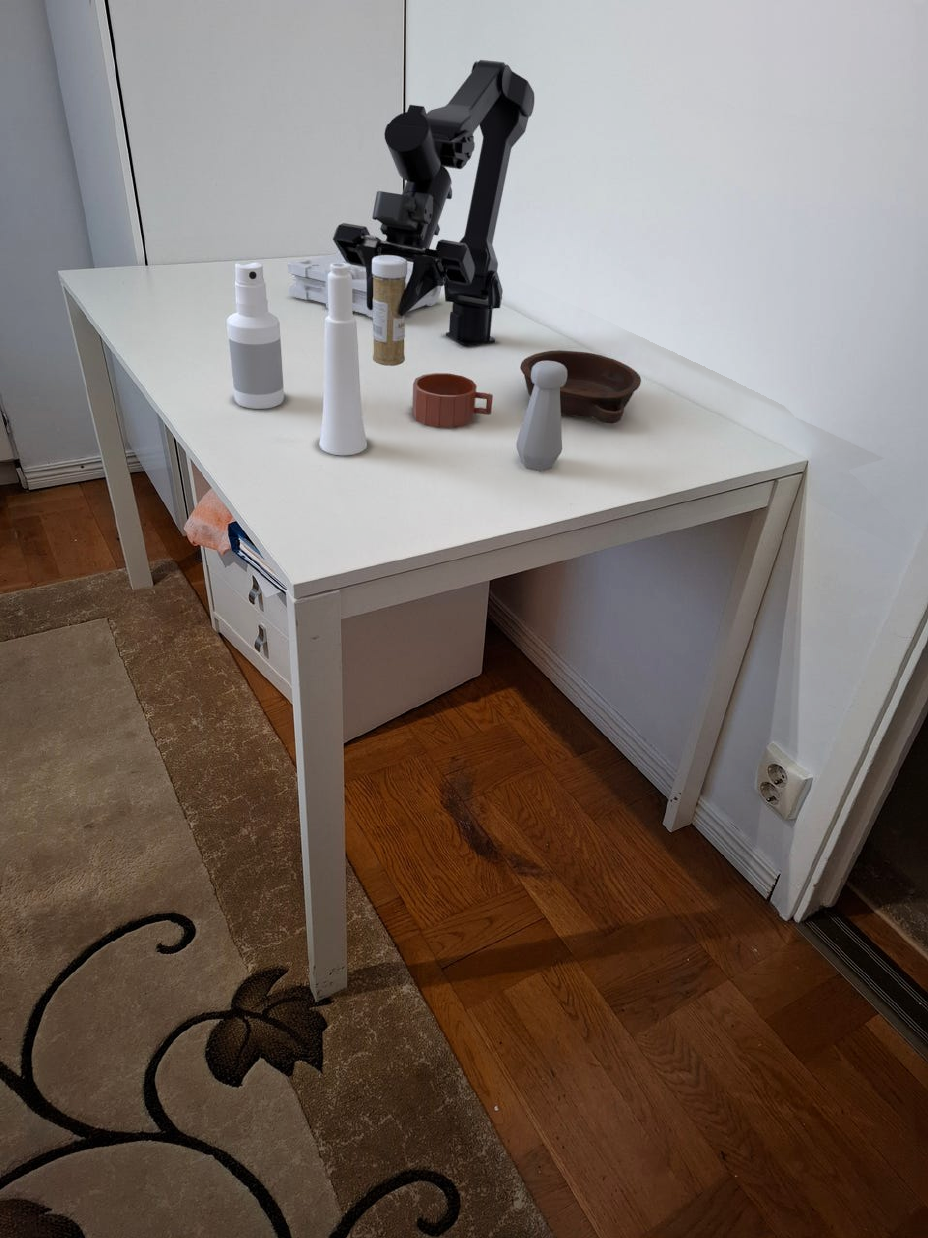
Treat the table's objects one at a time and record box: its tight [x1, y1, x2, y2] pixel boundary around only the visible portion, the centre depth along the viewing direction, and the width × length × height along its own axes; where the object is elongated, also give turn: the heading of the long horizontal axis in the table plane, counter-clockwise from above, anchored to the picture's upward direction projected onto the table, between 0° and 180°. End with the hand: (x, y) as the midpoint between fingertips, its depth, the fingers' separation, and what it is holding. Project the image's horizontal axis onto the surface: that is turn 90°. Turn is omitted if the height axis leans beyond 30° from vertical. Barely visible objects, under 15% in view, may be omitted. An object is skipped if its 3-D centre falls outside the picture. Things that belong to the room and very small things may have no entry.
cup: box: [411, 372, 494, 429], centre depth 114 cm, size 11×9×4 cm
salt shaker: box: [515, 361, 567, 472], centre depth 102 cm, size 6×6×13 cm
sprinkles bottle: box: [372, 255, 408, 367], centre depth 110 cm, size 5×5×13 cm
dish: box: [519, 349, 642, 424], centre depth 122 cm, size 18×22×5 cm
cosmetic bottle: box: [318, 263, 368, 456], centre depth 99 cm, size 6×6×22 cm
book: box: [287, 249, 442, 319], centre depth 155 cm, size 19×28×8 cm
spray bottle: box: [226, 261, 285, 410], centre depth 110 cm, size 7×7×18 cm
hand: (384, 311), depth 109 cm, fingers closed on sprinkles bottle, 4 cm apart
